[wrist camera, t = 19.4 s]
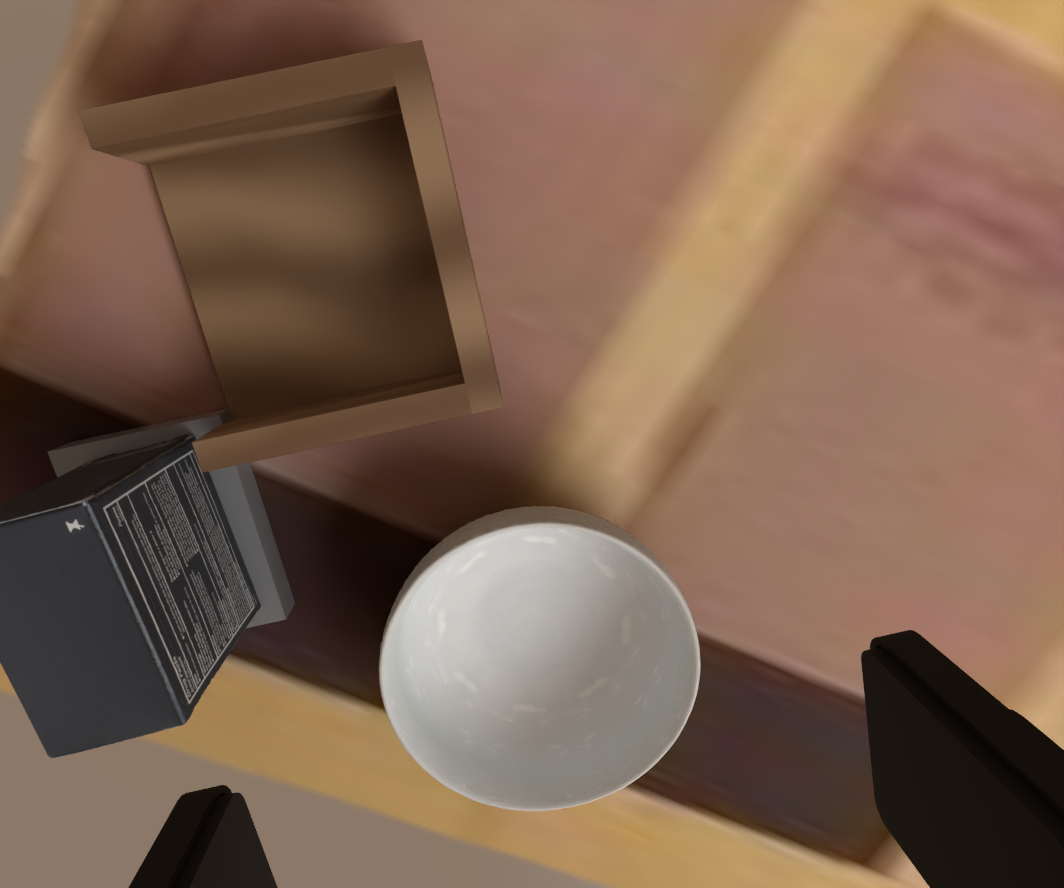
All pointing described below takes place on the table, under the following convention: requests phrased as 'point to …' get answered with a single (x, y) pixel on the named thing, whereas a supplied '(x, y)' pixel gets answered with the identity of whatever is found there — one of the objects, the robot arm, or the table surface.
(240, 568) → the small box
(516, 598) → the cereal bowl
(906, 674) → the robot arm
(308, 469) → the table surface
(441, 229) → the box
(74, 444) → the slate stand
